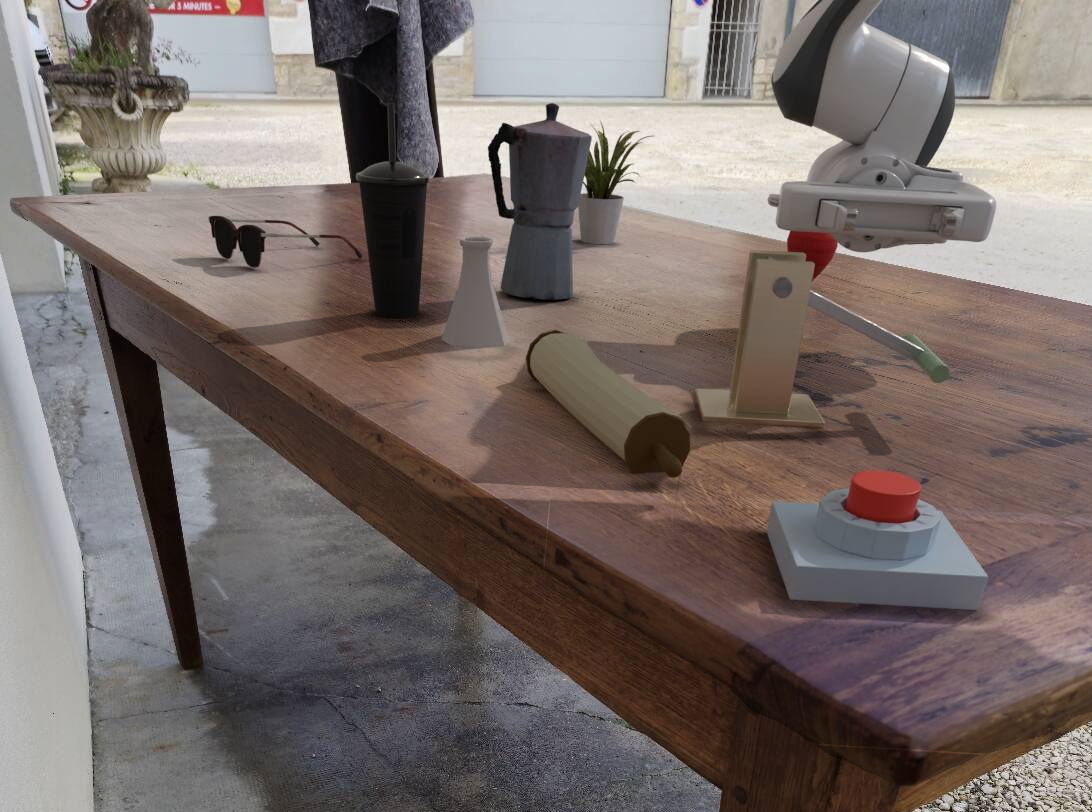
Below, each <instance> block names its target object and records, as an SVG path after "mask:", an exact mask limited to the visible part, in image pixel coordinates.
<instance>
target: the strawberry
mask: <svg viewBox="0 0 1092 812" xmlns="http://www.w3.org/2000/svg"><path fill="white" fill-rule="evenodd" d="M838 244H839V243H838V242H837V241H836V240H835V239H833V238H832V237H831V236H830V235H829V234H828V233H818V232H801V231H789V233H788V236H787V239H786V246H787V247H786V248H787V252H800V253H805V254H806V260H805V261H806V262H813V263H814V264H815V267H814V273H813V278H812V282H813V281H814V280H815V279H817V278H818V276H819V275H820V274H821V273H823V271H824V270H826V269H825V268H826V267H827V266H828V265H829V264H830V262H831V261H832V260H833V259H834V255H835V253H836V251H837V249H838V246H839V245H838Z"/></svg>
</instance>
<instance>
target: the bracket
mask: <svg viewBox="0 0 1092 812" xmlns="http://www.w3.org/2000/svg"><path fill="white" fill-rule="evenodd" d="M769 256H770V257H772V258H774V259H776V260H767V259H768V257H769ZM805 260H806V254H805V253H800V252H788V251H781V250H780V251H778V250H760V249H759V250H757V249H750V250H749V255H748V261H747V262H748V263H747V270H746V278H745V283H744V290H743V296H742V304H741V310H740V311H741V312H740V318H739V323H738V324H739V325H738V331H737V338H736V343H735V344H736V345H735V350H734V351H735V352H734V359H733V365H732V372H731V378H730V379H731V380H730V386H729V389H715V388H714V389H713V388H695V392H694V395H695V399H696V402H697V406H698V410H699V413H700V416H701V419H702V422H711V423H712V422H713V423H729V424H748V425H766V426H786V427H804V428H806V427H807V428H821V429H822V428H823V429H824V427H825V423H826V422H825V421H824V419H823V417H822V415H821V414H820V412H819V410H818V409H817V407H816V406H815V403H814V402H813V400H812V398H811V397H810V395H809V394H807V393H793V389H794V384H795V376H796V372H797V367H798V360H799V355H800V351H801V345H802V338H803V332H804V327H805V322H806V317H807V312H808V311H807V310H808V307H809V306H808V301H809V295H810V290H812V283H813V281H812V278H813V273H814V267H815V264H814V263H813V262H806V261H805Z"/></svg>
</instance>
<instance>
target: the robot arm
mask: <svg viewBox="0 0 1092 812" xmlns="http://www.w3.org/2000/svg"><path fill="white" fill-rule="evenodd" d="M882 2H883V0H817V1H816V2H815V3H814V4H813V5H812V6H811V7H810V8H809V9H808V10H807V12H806V13H805V14H804V15H803V16H802V18H801V19H800V20H799V22H798V23H797V24H796V25H795V26H794V27H793V28H792V30H791V31H790V32H789V34H788V35H787V37H786V39H784V42H783V44H782V46H781V48H780V50H779V52H778V54H777V58H776V60H775V64H774V67H773V70H772V74H771V80H770V83H771V89H772V92H773V95H774V98H775V101H776V103H777V106H778V108H779V111H780V112H781V114H782V116H783V118H784V119H786V120H789V121H792V122H795V123H798V124H801V125H804V126H807V127H809V128H813V127H814V128H816V129H818V130H821V131H823V132H825V133H827V134H829V135H831V136H834V137H836V138H838V139H840V140H841V141H839V142H838V143H836V144H834V145H832V146H830V147H828V148H827V149H825V150H824V151H822V152H821V153H820V154H819V155H818V156H817V157H816V158H815V160H814V161H813V163H812V164H811V166H810V168H809V171H808V173H807V177H806V180H797V181H795V180H793V181H785V182H783V183H782V184H781V185H780V190H779V193H770V194H769V195H768V196H767V204H768V205H769V206H770V207H774V208H776V214H775V225H776V227H777V228H778V229H780V230H782V231H783V230H784V231H787V232H788V231H789V232H790V231H801V232H818V233H828V234H829V235H830V236H831V237H832V238H833V239H835V240H836V241H837V242H838V244H839V245H840V246H841V247H843V248H844V249H846V250H849V251H851V252H856V253H870V252H871V253H872V252H876V251H879V250H881V249H891V248H895V247H900V246H906V245H907V246H911V245H935V244H937V245H939V244H945V243H947V241H956V242H957V241H958V242H970V243H982V242H984V241H986V240H987V239H988V237H989V235H990V232H991V229H992V226H993V222H994V218H995V215H996V211H997V200H996V198H995V197H994V196H993V195H992V194H990V193H988V192H987V191H986V190H984V189H982V188H980V187H979V186H976V185H975V184H972V183H969V182H965V181H964V174H963V173H962V172H959V171H955V170H951V169H947V168H938V167H932V166H928V165H930V162H931V161H932V160H933V158H934V156H935V155H936V153H938V150H939V148H940V147H941V144H942V143H943V141H944V139H945V136H946V135H947V133H948V130H949V128H950V125H951V123H952V120H953V116H954V113H955V108H956V88H955V78H954V73H953V70H952V67H951V65H950V63H949V61H945V60H944V59H942V58H940V57H939V56H936V55H934V54H933V53H931V52H929V51H926V50H924V49H923V48H920V47H918V46H916V45H913V44H912V43H910V42H909V43H908V42H905V41H903V40H901V39H900V38H897V37H895V36H893V35H891V34H889V33H887V32H885V31H883V30H880V29H878V28H876V27H875V26H872V25H870V24H868V23H867V22H866V21H867V20H868V18H869V17H870V16H871V15H872V14H873V13H874V12H875V10H876V9H877V8H878V7H879V6H880V4H881V3H882Z"/></svg>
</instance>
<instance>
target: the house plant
mask: <svg viewBox="0 0 1092 812" xmlns="http://www.w3.org/2000/svg"><path fill="white" fill-rule="evenodd" d="M588 122H589V124H590V125H591V127H592V128H593V129H594V131H595V133H596V135H597V137H598V140H596V141H595V143H594V147H593V154H592V152H591V149H590V150H589V155H588V160H587V165H586V170H585V175H584V178H585V179H586V182H585V181H583V185H584V187H585V190H586V192H585V193H581V195H580V200H579V205H578V207H577V209H578V210H577V211H578V221H579V235H580V241H581V242H582V243H584V244H591V245H611V244H612V245H613V244H615V239H616V236H617V232H618V227H619V221H620V218H621V213H622V209H623V204H624V198H625V197H624V196H622V195H619V194H614V193H613V192H614V190H615V188H616V187H617V185H618V184H620V183H622V182H632V183H635V184H637V182H636V181H635V180H634V179H632V178H631V179H630V178H626V179H623V178H624V177H625V176H627V175H630V174H636V175H638V176H639V178H640V179H642V178H641V176H640V174H639V173H638V172H635V171H633V172H628V173H625V172H626V171H627V170H628V169H629V168H630V166H633V165H636V164H637V163H628V164H626V165H624V163H625V162H626V160H627V158H628V157H629V155H630V153H632V151H633V150H634V149H635V148H636V147H637V146H638V145H639V144H644V141H643V142H642V140H644V139H647V138H651V137H652V138H653V137H654V135H647V136H644V137H642V138H640V139H638V140H637V141H636V142H635V143H633V144H632V141H630V142H628V141H629V140H630V139H632V137H633V136H634V134H636V133H640V130H634V131H631V130H628V131H625V132H623V133H622V134H621V135H620V136H619V137H618V139H617V141H616V143H615V146H614V149H613V153H612V155H611V158H610V160H609V151H610V150H609V141H608V138H607V136H606V135H605V128H604V125H603V123H602V121H601V120H599V122H600V125H601V128H602V131H600V130H597V129H596V128H595V127H594V125H592V123H591V122H590V121H588ZM626 133H627V134H626ZM623 135H625V136H623ZM640 141H641V142H640ZM627 142H628V143H627ZM630 145H631V146H630ZM599 146H600V148H599ZM629 146H630V147H629ZM628 147H629V148H628ZM627 148H628V149H627ZM593 156H594V157H593ZM622 156H623V157H622ZM600 157H601V158H600ZM621 157H622V159H621ZM620 159H621V160H620ZM619 160H620V162H619ZM618 162H619V164H618ZM617 164H618V166H617ZM623 165H624V166H623Z"/></svg>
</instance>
